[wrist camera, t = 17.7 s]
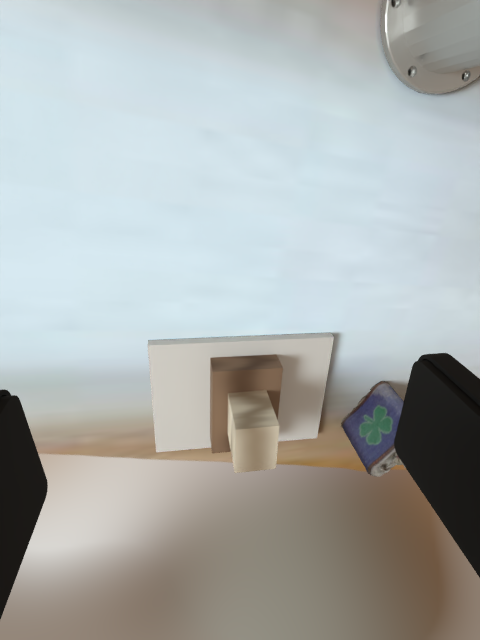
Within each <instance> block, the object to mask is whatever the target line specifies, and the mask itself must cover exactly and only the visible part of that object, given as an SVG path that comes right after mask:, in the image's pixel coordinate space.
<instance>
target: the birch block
mask: <svg viewBox="0 0 480 640" xmlns="http://www.w3.org/2000/svg"><path fill="white" fill-rule="evenodd" d="M278 437H279V423H278V420H277V417H276V415H275V412H274V409H273V407H272V404H271V401H270V398H269V396H268V393H267V390H262V391H250V392H237V393H228V438H229V444H230V449H231V455H232V460H233V466H234V471H235V473H240V472H249V471H257V470H266V469H275V468H276V460H277V449H278Z"/></svg>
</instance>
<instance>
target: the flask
mask: <svg viewBox="0 0 480 640" xmlns="http://www.w3.org/2000/svg"><path fill="white" fill-rule="evenodd" d="M370 390H371V391H370V392H369V393H368V394H367V395H366V396H364V397H363V398H362V399H361V401H360V402H359V404H358V406H357V407H356V408H354V409H353V411H352V412H351V413H350V414H348V415H347V417H345V418H344V419H343V420H342V423H341V424H342V425H341V426H342V427H343V429H344V431H345V433H346V435H347V436H348V438H349V440H350V441H351V444H352V446H353V447H354V449H355V450H356V452H357V454H358V456H359V458H360V459H361V461H362V463H363V465H364V466H365V468H366V470H367V472H368V474H370V475H372V476H382V475H383V474H384V473H387V472H388V471H389V470H390V469H391V468H392V467H394V466H395V465H402V464H403V463H402V461H401V460H400V458H399V457H398V455H397V453H396V451H395V447H394V439H395V435H396V431H397V427H398V423H399V419H400V415H401V411H402V407H403V403H404V401H403V400H402V399H401V398H400V397H399V396H398V394H397V393H396V392H395V391H394V390H393V389H392V387H391V386H390V385H389V384H388V383H386V382H383V381H381V382H380V383H378V384H376V385H375V386H373V387H372V388H371V389H370ZM403 465H404V464H403ZM404 468H405V467H404Z"/></svg>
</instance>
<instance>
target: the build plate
mask: <svg viewBox="0 0 480 640" xmlns="http://www.w3.org/2000/svg"><path fill="white" fill-rule="evenodd" d="M333 340H334V337H333V335H332V334H331V333H311V334H287V335H263V336H239V337H216V338H192V339H168V340H148V355H149V367H150V380H151V392H152V405H153V418H154V430H155V443H156V452H165V451H176V450H187V449H199V448H210V447H211V441H210V358H213V357H233V356H253V355H273V354H277V356H278V358H279V360H280V362H281V365H282V367H283V374H282V383H281V393H280V402H279V412H278V423H279V437H278V441H288V440H300V439H311V438H317V435H318V429H319V423H320V417H321V411H322V405H323V399H324V394H325V388H326V382H327V376H328V370H329V364H330V358H331V352H332V346H333Z"/></svg>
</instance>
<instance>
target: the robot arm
mask: <svg viewBox="0 0 480 640" xmlns="http://www.w3.org/2000/svg"><path fill="white" fill-rule="evenodd" d="M391 2H392V3H393V7H392V5H391ZM380 27H381V38H382V45H383V48H384V52H385V56H386V59H387V61H388V63H389V65H390V67H391V69H392V71H393V72H394V73H395V75H396V76H397V77H398V79H399V80H400V81H401V82H403V83H404V84H405V85H406V86H407V87H409V88H411V89H413V90H415V91H417V92H420V93H425V94H442V93H447V92H452V91H455V90H457V89H460V88H462V87H464V86H466V85H468V84H469V83H471V82H472V81H474V80H475V79H477V78H478V77H479V76H480V0H383V3H382V8H381V24H380ZM408 71H409V75H408ZM394 447H395V451H396V453H397V455H398V457H399V458H400V460H401V461H402V463H403V464H404V466H405V467H406V469H407V470H408V472H409V473H410V475H411V476H412V478H413V479H414V480H415V482H416V483H417V485H418V487H419V488H420V490H421V491H422V493H423V494H424V495H425V497H426V498H427V500H428V501H429V503H430V504H431V506H432V507H433V509H434V510H435V512H436V513H437V515H438V516H439V518H440V519H441V521H442V522H443V524H444V525H445V527H446V528H447V530H448V531H449V533H450V534H451V536H452V537H453V539H454V540H455V542H456V543H457V544H458V546H459V547H460V549H461V550H462V552H463V553H464V555H465V556H466V558H467V559H468V561H469V562H470V564H471V565H472V567H473V568H474V570H475V571H476V573H477V574H478V576H479V577H480V379H479V378H478V377H477V376H475V375H474V374H473V373H472V372H470V371H469V370H468V369H467V368H466V367H464V366H463V365H462V364H461V363H459V362H458V361H457V360H456V359H455V358H453V357H452V356H451V355H449V354H447V353H438V354H426V355H422V356H421V357H420V358H419V360H418V361H416V362H415V363H414V364H413V367H412V371H411V375H410V379H409V383H408V387H407V391H406V395H405V399H404V403H403V407H402V411H401V415H400V419H399V423H398V427H397V431H396V435H395V439H394ZM46 494H47V479H46V476H45V473H44V470H43V467H42V464H41V461H40V458H39V455H38V452H37V449H36V446H35V443H34V441H33V438H32V435H31V432H30V429H29V426H28V423H27V420H26V417H25V414H24V411H23V408H22V405H21V402H20V400H19V398H18V397H17V396H15V395H14V396H11V394H10V393H9V392H8V391H7V390H0V619H1V616H2V614H3V611H4V608H5V605H6V603H7V600H8V597H9V595H10V592H11V589H12V587H13V584H14V581H15V579H16V576H17V573H18V570H19V568H20V565H21V563H22V560H23V557H24V554H25V552H26V549H27V546H28V544H29V541H30V538H31V536H32V533H33V530H34V528H35V525H36V522H37V520H38V517H39V514H40V511H41V509H42V506H43V503H44V501H45V498H46Z"/></svg>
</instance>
